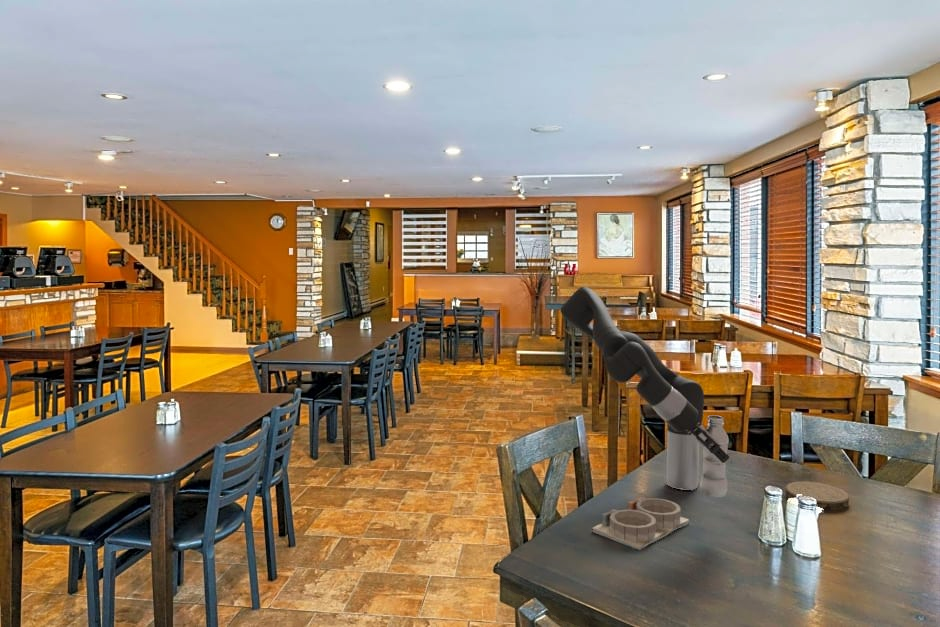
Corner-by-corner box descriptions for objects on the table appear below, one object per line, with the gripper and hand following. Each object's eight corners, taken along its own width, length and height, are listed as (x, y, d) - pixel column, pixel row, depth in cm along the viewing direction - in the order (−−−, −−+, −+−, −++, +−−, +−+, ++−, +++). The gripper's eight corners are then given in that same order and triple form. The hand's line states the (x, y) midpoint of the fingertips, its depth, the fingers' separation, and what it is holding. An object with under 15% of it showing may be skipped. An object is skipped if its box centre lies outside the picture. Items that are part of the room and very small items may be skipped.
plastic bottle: (722, 491, 163) (725, 414, 161) (730, 501, 156) (733, 421, 155) (696, 490, 164) (698, 413, 162) (703, 500, 157) (705, 420, 155)
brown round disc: (861, 506, 180) (861, 496, 180) (822, 516, 174) (823, 505, 173) (810, 487, 195) (811, 478, 194) (773, 496, 188) (773, 486, 188)
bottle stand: (643, 508, 179) (643, 492, 178) (689, 523, 168) (689, 506, 168) (591, 532, 164) (592, 514, 163) (638, 550, 153) (639, 532, 153)
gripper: (656, 411, 166) (701, 456, 167) (670, 426, 152) (719, 475, 152) (677, 391, 165) (723, 436, 166) (693, 405, 151) (743, 454, 151)
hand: (721, 455), depth 159 cm, fingers closed on plastic bottle, 6 cm apart
